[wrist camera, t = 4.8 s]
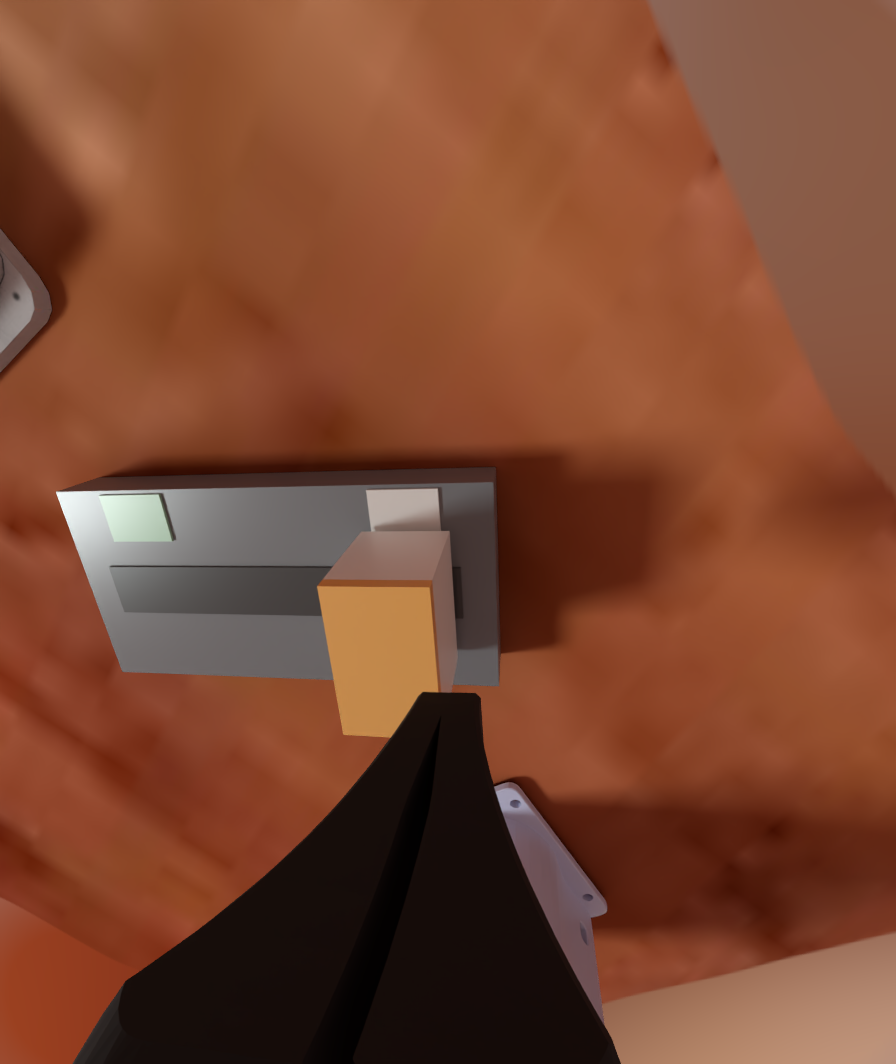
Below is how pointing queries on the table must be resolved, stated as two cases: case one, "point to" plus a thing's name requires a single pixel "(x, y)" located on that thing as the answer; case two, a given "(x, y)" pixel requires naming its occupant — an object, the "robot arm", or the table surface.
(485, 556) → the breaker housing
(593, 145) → the table surface
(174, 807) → the table surface
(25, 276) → the emergency button
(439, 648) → the knob
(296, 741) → the table surface
